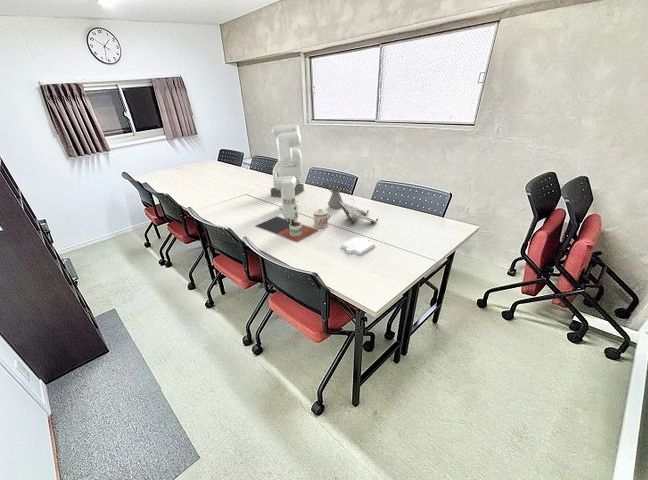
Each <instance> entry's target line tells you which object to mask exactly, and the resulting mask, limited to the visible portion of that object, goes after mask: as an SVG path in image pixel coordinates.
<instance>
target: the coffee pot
mask: <svg viewBox="0 0 648 480" xmlns="http://www.w3.org/2000/svg"><path fill="white" fill-rule="evenodd" d="M323 186H324V187H326V188H327V190H328V191H330V193H331V195H330V198H329V200H328V202H327V205H328V207H329V208H330V209H332V210H339V209H342V207H341V206H340V205H339V203H338V202H337V201H340V202H342V203H344V201H343V198H342V196H341V194H340V192H341V189H340V188H334V189H331V188H330V187H329V186H328V185H327V184H326V182H323Z"/></svg>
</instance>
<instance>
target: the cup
mask: <svg viewBox="0 0 648 480" xmlns="http://www.w3.org/2000/svg"><path fill="white" fill-rule="evenodd" d="M302 225H303V224H302V222H300V221H296V222H292V223H290V224H289V232H290V236H293V237H297V236H300V235H302Z"/></svg>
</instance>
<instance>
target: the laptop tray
mask: <svg viewBox="0 0 648 480" xmlns="http://www.w3.org/2000/svg"><path fill="white" fill-rule="evenodd" d="M337 202H338V203H339V205H340V206H341V209H342V210H343V212H344V214H345V216H346V217H347V218H348V220H349V221H350V222H351V223H352V224H354V222H353V219H352V217H351V216H350V215H352V216H356V217H357V218H361V219H364V220H366V221H369V222H370V223H371V224H375V223H377V222H378V220H379V218H376V220H375V219H372V218H370V217H368V216H365V215H368V213H369V212H370V210H369V209H368V210H366V211H365V210H364V209H363V210H362V209H360V208H358V207H355V206H353V205H351V204H348V203H345V202H343V203H342V202H340V201H337ZM363 214H365V215H363Z"/></svg>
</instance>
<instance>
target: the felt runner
mask: <svg viewBox="0 0 648 480" xmlns="http://www.w3.org/2000/svg"><path fill="white" fill-rule="evenodd" d="M255 227H258V228H260V229H262V230H264V231H267V232H271V233H273V234H275V235H278V236H281V237H284V238H286V239H288V240H290V241H294V242H296V243H297V242H300V241H301V240H303V239H305V238H307V237H309V236H310V235H312V234H315V233H316V232H318V231H319V229H318V228H317V229H316V228H313V227H311V226H307V225H304V224H302V235H300V236H297V237H293V236H290V232H289V227H288V222H287V220H286V219H285V218H282V217H280V216H275V217H272V218H270V219H268V220H266V221H263V222H261V223H259V224H256V225H255Z"/></svg>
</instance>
